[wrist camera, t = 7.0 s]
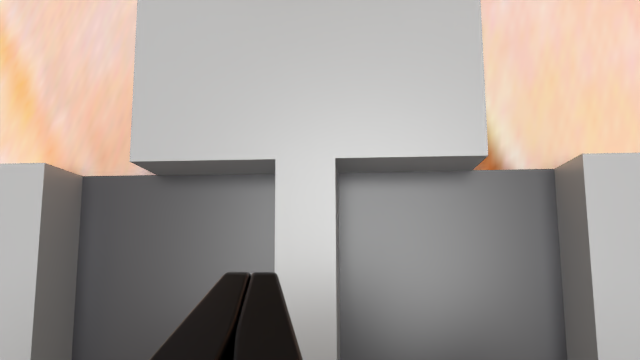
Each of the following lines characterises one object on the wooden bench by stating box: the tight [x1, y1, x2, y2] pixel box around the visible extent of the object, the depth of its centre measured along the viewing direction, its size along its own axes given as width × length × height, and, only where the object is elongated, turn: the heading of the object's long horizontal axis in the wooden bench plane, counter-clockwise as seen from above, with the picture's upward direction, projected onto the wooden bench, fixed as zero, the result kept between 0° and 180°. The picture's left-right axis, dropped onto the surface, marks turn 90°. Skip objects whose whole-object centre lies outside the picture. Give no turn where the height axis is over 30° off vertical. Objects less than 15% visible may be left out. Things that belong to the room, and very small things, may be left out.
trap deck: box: [0, 0, 640, 360], centre depth 22 cm, size 30×22×3 cm
